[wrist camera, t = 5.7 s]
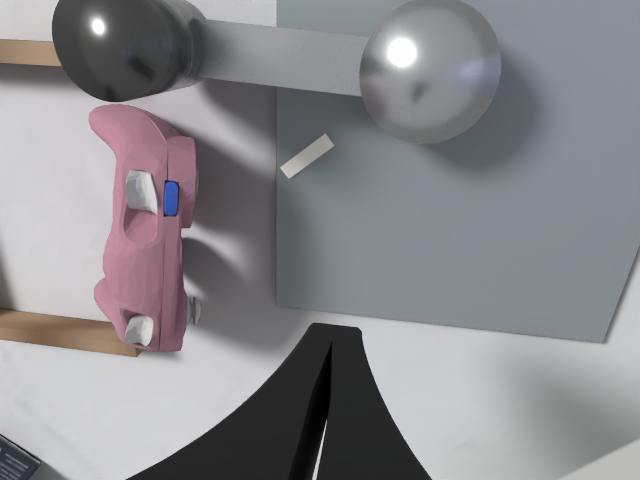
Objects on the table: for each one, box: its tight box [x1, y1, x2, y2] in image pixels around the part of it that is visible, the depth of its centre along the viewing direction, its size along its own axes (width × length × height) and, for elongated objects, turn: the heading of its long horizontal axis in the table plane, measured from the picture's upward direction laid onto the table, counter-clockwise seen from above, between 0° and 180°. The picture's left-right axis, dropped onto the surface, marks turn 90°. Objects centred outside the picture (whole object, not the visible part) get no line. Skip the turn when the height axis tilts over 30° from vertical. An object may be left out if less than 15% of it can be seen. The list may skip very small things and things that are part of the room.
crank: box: [52, 0, 501, 144], centre depth 14 cm, size 13×4×5 cm, turn 84°
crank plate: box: [276, 0, 640, 343], centre depth 16 cm, size 15×22×1 cm
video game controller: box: [89, 104, 201, 352], centre depth 18 cm, size 10×5×7 cm, turn 168°
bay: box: [0, 39, 143, 357], centre depth 21 cm, size 10×15×2 cm
